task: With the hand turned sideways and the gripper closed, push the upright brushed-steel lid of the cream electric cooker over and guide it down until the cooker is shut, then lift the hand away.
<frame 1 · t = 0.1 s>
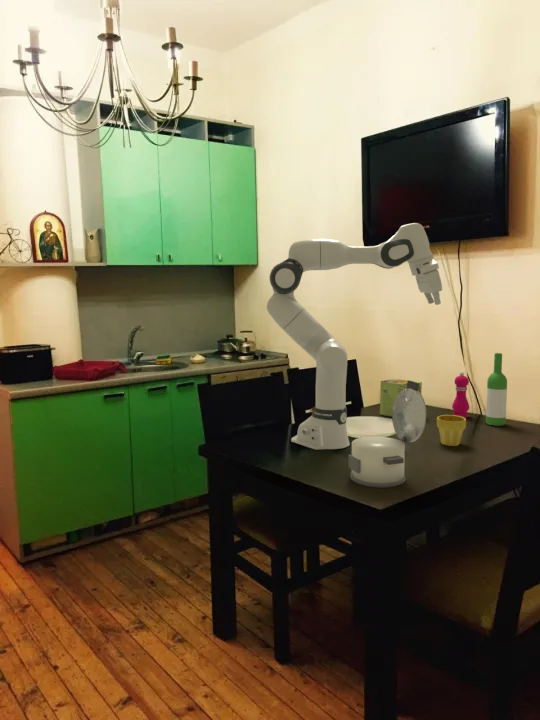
hand: (434, 303, 207), 52 cm above the table, tool tilted 20°, fingers open, 8 cm apart
cooker: (377, 478, 178), on the table
lid: (409, 411, 179), point 20 cm above the table, hinge at 98.0°
pepper mill: (460, 417, 256), on the table
protein box: (400, 415, 261), on the table
wine bottle: (495, 424, 242), on the table
plant pot: (450, 444, 215), on the table
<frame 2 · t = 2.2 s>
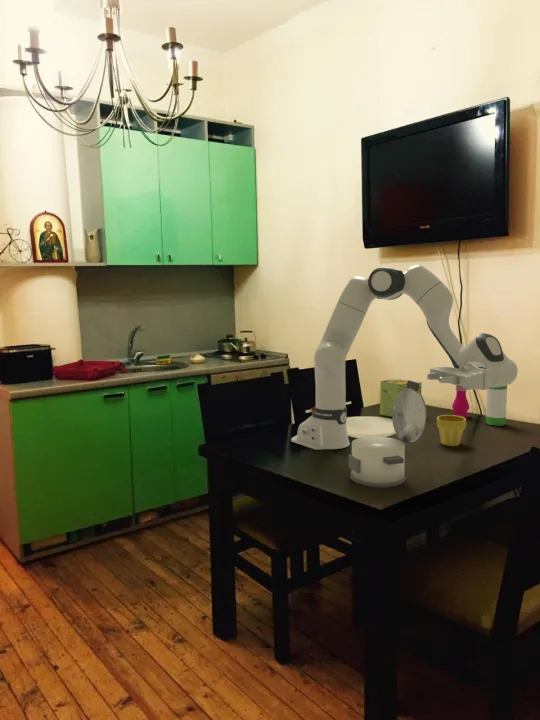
hand: (434, 378, 180), 30 cm above the table, tool horizontal, fingers open, 5 cm apart
nothing on the table moved.
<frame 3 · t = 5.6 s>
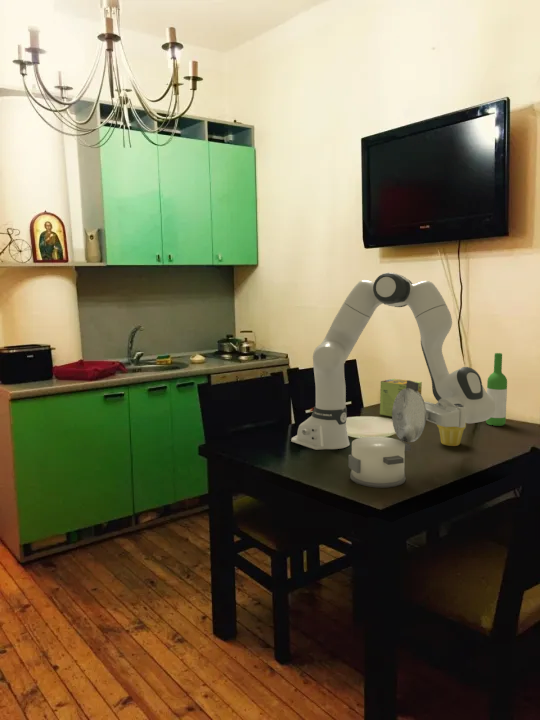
hand: (410, 415, 179), 19 cm above the table, tool horizontal, fingers closed, pressing on lid
lid: (408, 411, 179), point 20 cm above the table, hinge at 97.2°, touching gripper
everything else where it was.
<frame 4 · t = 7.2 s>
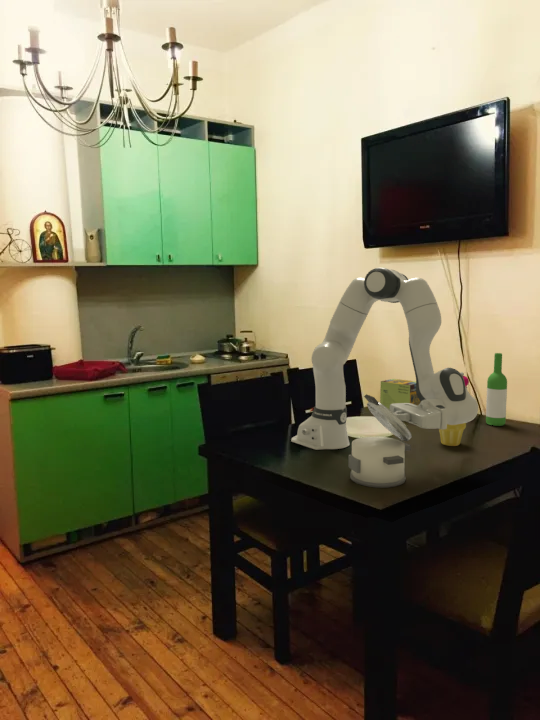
hand: (391, 416, 177), 19 cm above the table, tool horizontal, fingers closed
lid: (386, 417, 177), point 19 cm above the table, hinge at 48.7°
everything else where it was.
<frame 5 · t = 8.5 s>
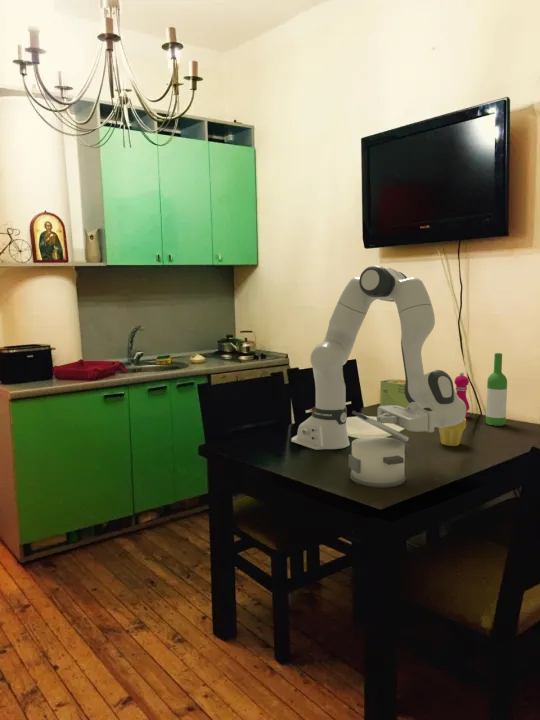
hand: (378, 419, 176), 19 cm above the table, tool horizontal, fingers closed
lid: (380, 425, 176), point 17 cm above the table, hinge at 29.0°
everything else where it was.
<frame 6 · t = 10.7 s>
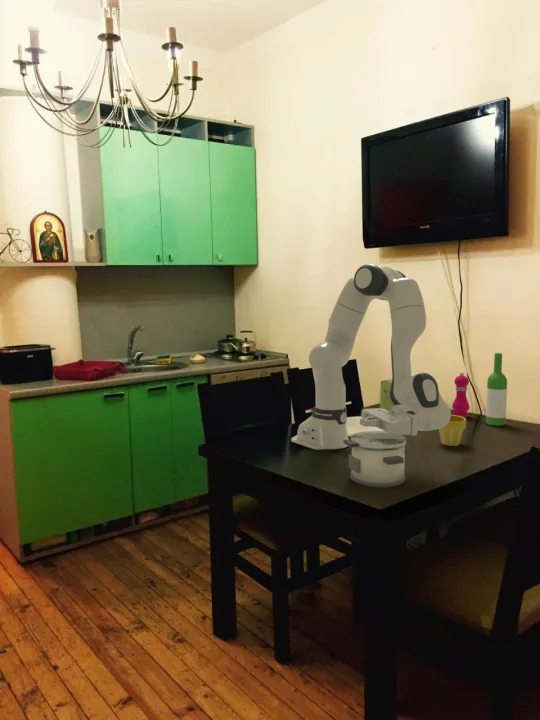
hand: (361, 422, 174), 18 cm above the table, tool horizontal, fingers closed
lid: (374, 440, 176), point 12 cm above the table, hinge at -0.2°
everything else where it was.
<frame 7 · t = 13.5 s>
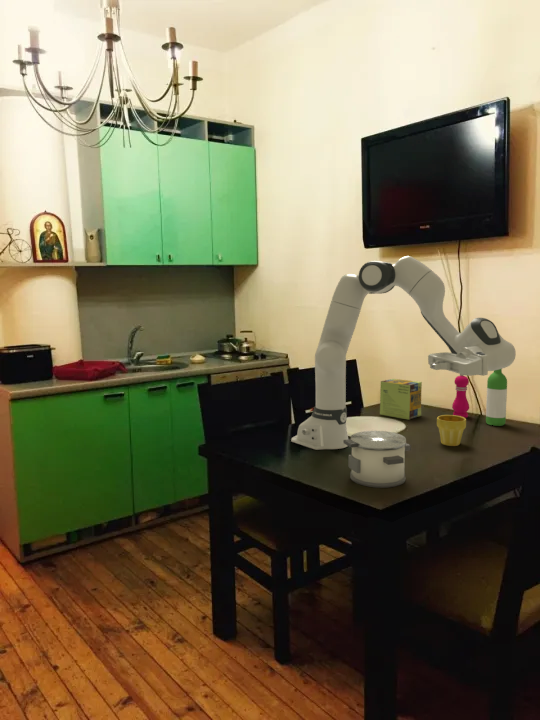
hand: (432, 366, 180), 34 cm above the table, tool horizontal, fingers closed
nothing on the table moved.
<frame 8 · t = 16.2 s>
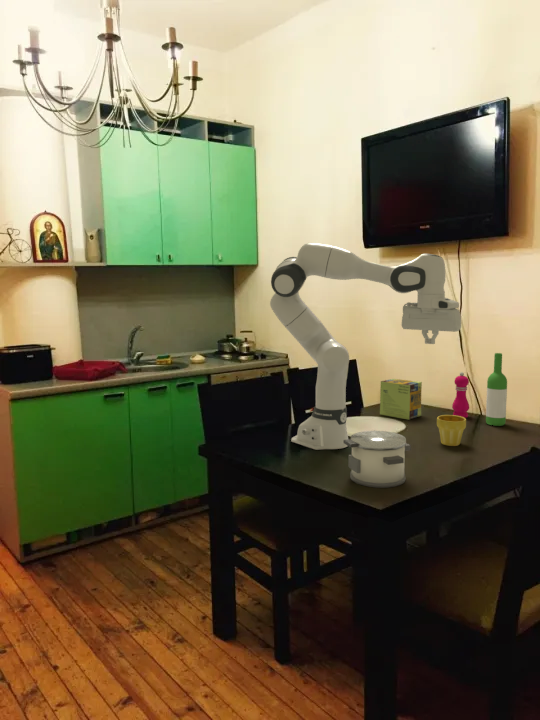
hand: (429, 343, 195), 39 cm above the table, tool pointing down, fingers closed
nothing on the table moved.
at the end: lid at +0° (first picture: +98°) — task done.
